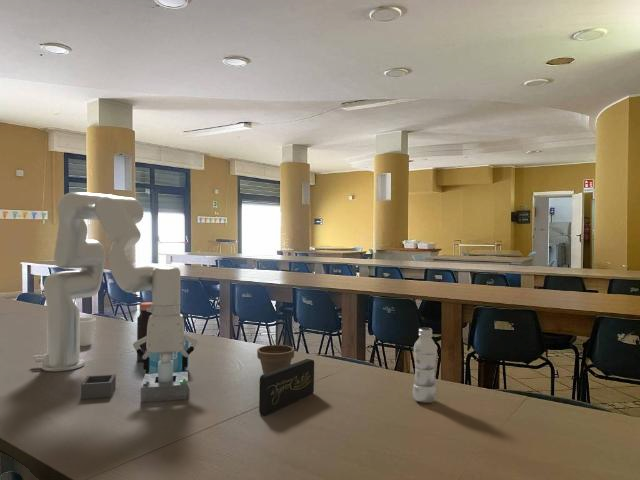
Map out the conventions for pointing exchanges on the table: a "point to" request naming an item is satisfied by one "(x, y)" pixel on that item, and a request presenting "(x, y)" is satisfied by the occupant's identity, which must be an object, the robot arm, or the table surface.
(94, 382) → the grey open box
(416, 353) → the plastic bottle
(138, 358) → the vinegar
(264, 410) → the nameplate
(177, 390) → the port
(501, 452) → the table surface
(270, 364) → the flower pot
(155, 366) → the data package
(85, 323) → the dixie cup
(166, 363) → the plug
